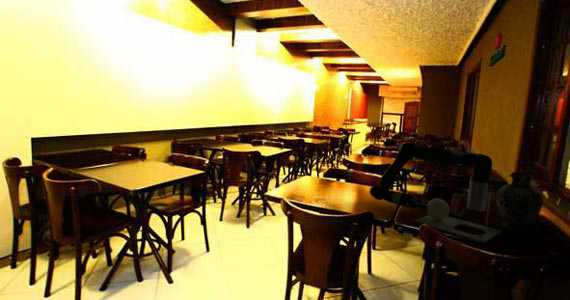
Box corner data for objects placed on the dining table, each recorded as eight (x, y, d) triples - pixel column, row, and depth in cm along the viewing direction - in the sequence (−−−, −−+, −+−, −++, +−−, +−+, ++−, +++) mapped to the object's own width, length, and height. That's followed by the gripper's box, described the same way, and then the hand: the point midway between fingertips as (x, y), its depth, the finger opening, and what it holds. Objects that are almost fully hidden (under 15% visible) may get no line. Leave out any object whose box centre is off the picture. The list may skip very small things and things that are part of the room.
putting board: (414, 222, 163) (418, 186, 160) (434, 214, 177) (438, 181, 174) (483, 243, 138) (489, 201, 136) (501, 232, 152) (506, 194, 150)
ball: (439, 215, 171) (441, 196, 170) (453, 223, 161) (455, 202, 159) (420, 216, 170) (422, 196, 168) (433, 223, 159) (436, 202, 157)
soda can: (466, 218, 172) (468, 196, 171) (452, 216, 174) (454, 195, 172) (461, 214, 179) (464, 193, 178) (448, 212, 180) (450, 192, 179)
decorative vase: (542, 238, 147) (549, 179, 143) (494, 230, 156) (500, 174, 153) (535, 225, 165) (542, 172, 161) (493, 218, 174) (498, 168, 171)
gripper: (396, 194, 175) (424, 201, 162) (409, 191, 184) (437, 197, 171) (395, 207, 176) (423, 216, 163) (408, 203, 185) (436, 211, 172)
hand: (430, 206), depth 167 cm, fingers open, 8 cm apart
